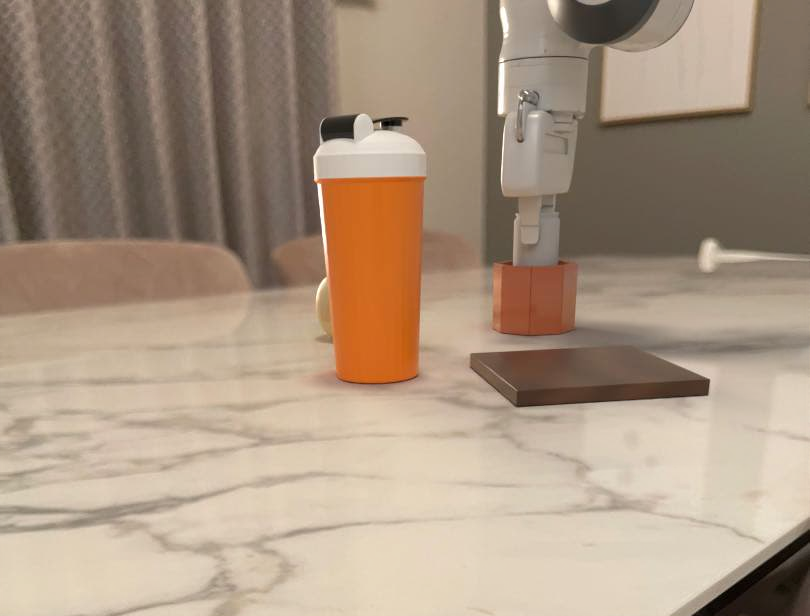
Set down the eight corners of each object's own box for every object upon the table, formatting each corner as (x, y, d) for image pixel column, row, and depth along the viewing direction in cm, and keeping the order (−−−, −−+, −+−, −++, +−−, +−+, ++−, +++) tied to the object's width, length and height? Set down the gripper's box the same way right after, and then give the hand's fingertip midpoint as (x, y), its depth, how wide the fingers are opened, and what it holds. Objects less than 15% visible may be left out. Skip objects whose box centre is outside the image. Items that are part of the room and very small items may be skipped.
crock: (557, 321, 98) (560, 258, 95) (582, 332, 91) (586, 264, 88) (487, 324, 97) (488, 260, 94) (506, 336, 89) (508, 267, 87)
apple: (406, 328, 93) (403, 269, 87) (359, 369, 90) (353, 311, 83) (352, 301, 96) (345, 243, 90) (304, 340, 93) (295, 281, 86)
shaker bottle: (448, 370, 74) (448, 115, 66) (390, 391, 67) (381, 109, 59) (366, 361, 79) (357, 122, 71) (304, 379, 72) (286, 117, 64)
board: (629, 358, 77) (630, 344, 77) (708, 394, 64) (710, 379, 63) (469, 366, 75) (470, 353, 75) (516, 406, 62) (517, 390, 61)
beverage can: (502, 328, 94) (504, 213, 89) (530, 323, 97) (534, 211, 92) (535, 333, 91) (540, 214, 86) (563, 328, 94) (570, 212, 89)
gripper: (555, 84, 75) (548, 249, 80) (587, 102, 93) (579, 235, 98) (486, 88, 77) (483, 249, 82) (530, 104, 95) (526, 235, 100)
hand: (536, 241), depth 90 cm, fingers closed on beverage can, 5 cm apart
